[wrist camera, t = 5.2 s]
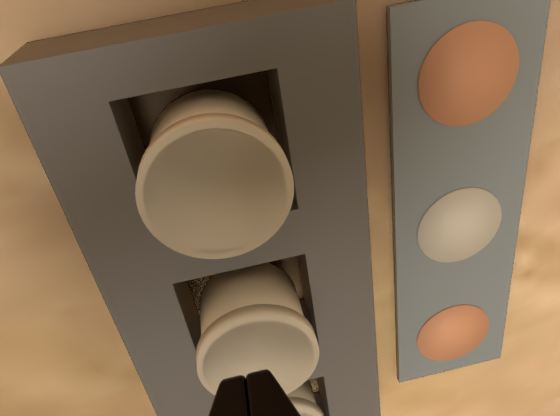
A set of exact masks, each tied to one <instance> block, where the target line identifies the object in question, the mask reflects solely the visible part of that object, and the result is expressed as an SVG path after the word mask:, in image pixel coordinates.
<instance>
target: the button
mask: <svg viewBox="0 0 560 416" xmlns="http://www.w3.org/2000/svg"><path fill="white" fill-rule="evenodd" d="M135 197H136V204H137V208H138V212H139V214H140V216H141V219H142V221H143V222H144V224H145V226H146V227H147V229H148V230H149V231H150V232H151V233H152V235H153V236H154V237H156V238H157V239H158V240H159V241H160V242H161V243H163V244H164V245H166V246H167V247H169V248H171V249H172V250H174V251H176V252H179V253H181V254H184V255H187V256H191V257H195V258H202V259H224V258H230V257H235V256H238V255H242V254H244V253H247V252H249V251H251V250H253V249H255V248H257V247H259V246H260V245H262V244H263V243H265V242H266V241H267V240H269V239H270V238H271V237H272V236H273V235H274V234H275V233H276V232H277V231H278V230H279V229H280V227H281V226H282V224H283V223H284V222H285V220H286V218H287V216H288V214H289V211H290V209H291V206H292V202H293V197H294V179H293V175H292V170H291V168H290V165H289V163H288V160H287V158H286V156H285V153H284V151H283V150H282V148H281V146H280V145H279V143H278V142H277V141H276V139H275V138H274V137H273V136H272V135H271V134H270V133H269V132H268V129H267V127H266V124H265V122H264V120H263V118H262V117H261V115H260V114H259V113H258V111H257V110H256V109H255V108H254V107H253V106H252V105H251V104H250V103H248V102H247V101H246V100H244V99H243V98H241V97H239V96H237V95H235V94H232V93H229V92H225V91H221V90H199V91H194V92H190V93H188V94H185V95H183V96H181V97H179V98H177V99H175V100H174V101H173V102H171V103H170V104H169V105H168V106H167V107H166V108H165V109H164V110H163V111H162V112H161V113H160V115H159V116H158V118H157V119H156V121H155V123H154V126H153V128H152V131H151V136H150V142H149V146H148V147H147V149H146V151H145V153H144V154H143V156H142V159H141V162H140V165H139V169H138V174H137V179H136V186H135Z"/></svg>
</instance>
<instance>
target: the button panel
mask: <svg viewBox="0 0 560 416" xmlns="http://www.w3.org/2000/svg"><path fill="white" fill-rule="evenodd" d="M265 70H267V72H268V79H269V85H270V91H271V97H272V103H273V109H274V115H275V122H276V128H277V134H278V140H279V145H280V146H281V148H282V150H283V151H284V153H285V156H286V158H287V160H288V163H289V165H290V168H291V170H292V175H293V179H294V197H293V202H292V206H291V209H290V211H289V214H288V216H287V218H286V220H285V222H284V223H283V224H282V226H281V227H280V229H279V230H278V231H277V232H276V233H275V234H274V235H273V236H272V237H271V238H270V239H269V240H267V241H266V242H265V243H263V244H262V245H260V246H259V247H257V248H255V249H253V250H251V251H249V252H247V253H244V254H242V255H238V256H235V257H230V258H224V259H202V258H195V257H191V256H187V255H184V254H181V253H179V252H176V251H174V250H172V249H171V248H169V247H167V246H166V245H164V244H163V243H161V242H160V241H159V240H158V239H157V238H156V237H154V236H153V235H152V233H151V232H150V231H149V230H148V229H147V227H146V226H145V224H144V222H143V221H142V219H141V216H140V214H139V212H138V208H137V204H136V197H135V186H136V179H137V174H138V169H139V165H140V162H141V159H142V156H143V154H144V153H145V149H144V146H143V143H142V140H141V137H140V134H139V131H138V128H137V125H136V122H135V119H134V115H133V112H132V109H131V106H130V103H129V100H128V98H130V97H135V96H140V95H145V94H150V93H155V92H160V91H165V90H170V89H175V88H180V87H185V86H190V85H195V84H200V83H205V82H210V81H215V80H220V79H225V78H230V77H235V76H240V75H245V74H250V73H255V72H260V71H265ZM0 75H1V77H2V79H3V81H4V83H5V86H6V88H7V90H8V92H9V94H10V96H11V99H12V101H13V103H14V105H15V107H16V109H17V112H18V114H19V116H20V118H21V120H22V123H23V125H24V127H25V129H26V131H27V133H28V136H29V138H30V140H31V142H32V144H33V146H34V149H35V151H36V153H37V155H38V157H39V159H40V162H41V164H42V166H43V168H44V170H45V173H46V175H47V177H48V179H49V181H50V183H51V186H52V188H53V190H54V192H55V194H56V196H57V199H58V201H59V203H60V205H61V207H62V209H63V212H64V214H65V216H66V218H67V220H68V223H69V225H70V227H71V229H72V231H73V233H74V236H75V238H76V240H77V242H78V244H79V246H80V249H81V251H82V253H83V255H84V257H85V259H86V262H87V264H88V266H89V268H90V270H91V273H92V275H93V277H94V279H95V281H96V283H97V286H98V288H99V290H100V292H101V294H102V296H103V299H104V301H105V303H106V305H107V307H108V309H109V312H110V314H111V316H112V318H113V320H114V323H115V325H116V327H117V329H118V331H119V333H120V336H121V338H122V340H123V342H124V344H125V346H126V349H127V351H128V353H129V355H130V357H131V359H132V362H133V364H134V366H135V368H136V370H137V373H138V375H139V377H140V379H141V381H142V383H143V386H144V388H145V390H146V392H147V394H148V396H149V399H150V401H151V403H152V405H153V407H154V409H155V412H156V414H157V416H208V415H209V412H210V409H211V406H212V403H213V400H214V397H215V395H213V394H212V393H210V392H209V391H208V390H207V389H206V388H205V387H204V386H203V385H202V383H201V382H200V380H199V377H198V374H197V364H196V350H197V345H198V342H199V339H200V337H201V324H200V317H199V314H198V311H197V308H196V305H195V302H194V299H193V296H192V293H191V290H190V287H189V284H188V280H192V279H196V278H201V277H205V276H210V275H214V274H219V273H223V272H227V271H232V270H236V269H241V268H245V267H250V266H254V265H258V264H263V263H267V262H272V261H276V260H280V259H285V258H289V257H294V256H297V257H298V263H299V269H300V275H301V282H302V288H303V294H304V299H302V300H299V302H300V305H301V308H302V312H303V315H304V317H305V318H306V319H307V320H308V321H309V322H310V324H311V325H312V327H313V330H314V332H315V335H316V339H317V342H318V345H319V360H318V363H317V366H316V368H315V370H314V372H313V373H312V375H311V376H310V377H309V378H308V379H307V380H311V379H315V378H317V380H318V386H319V392H317V393H313V394H314V397H315V401H316V405H318V406H319V407H320V409H321V410H322V412H323V414H324V416H381V414H380V398H379V381H378V364H377V347H376V331H375V314H374V297H373V281H372V264H371V247H370V231H369V214H368V197H367V180H366V164H365V147H364V130H363V114H362V97H361V80H360V63H359V47H358V30H357V13H356V0H249V1H244V2H239V3H234V4H228V5H223V6H218V7H212V8H207V9H202V10H196V11H191V12H186V13H181V14H175V15H170V16H165V17H159V18H154V19H149V20H144V21H138V22H133V23H128V24H122V25H117V26H112V27H106V28H101V29H96V30H91V31H85V32H80V33H75V34H69V35H64V36H59V37H53V38H48V39H43V40H38V41H32V42H27V43H26V44H25V45H23V46H22V47H21V48H20V49H19V50H17V51H16V52H15V53H14V54H12V55H11V56H10V57H9V58H8V59H6V60H5V61H4V62H3V63H2V64H0Z"/></svg>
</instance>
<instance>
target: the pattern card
mask: <svg viewBox="0 0 560 416" xmlns="http://www.w3.org/2000/svg"><path fill="white" fill-rule="evenodd" d="M549 7H550V0H415V1H410V2H405V3H400V4H395V5H389V6H387V26H388V62H389V98H390V134H391V169H392V205H393V241H394V277H395V313H396V348H397V379H398V381H399V383H400V382H404V381H408V380H412V379H416V378H420V377H424V376H428V375H432V374H437V373H441V372H445V371H449V370H453V369H457V368H461V367H465V366H469V365H473V364H477V363H481V362H485V361H489V360H493V359H497V358H500V356H501V349H502V342H503V335H504V328H505V321H506V313H507V306H508V299H509V292H510V285H511V278H512V271H513V264H514V256H515V249H516V242H517V235H518V228H519V221H520V214H521V207H522V199H523V192H524V185H525V178H526V171H527V164H528V157H529V149H530V142H531V135H532V128H533V121H534V114H535V107H536V100H537V92H538V85H539V78H540V71H541V64H542V57H543V50H544V42H545V35H546V28H547V21H548V14H549Z"/></svg>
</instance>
